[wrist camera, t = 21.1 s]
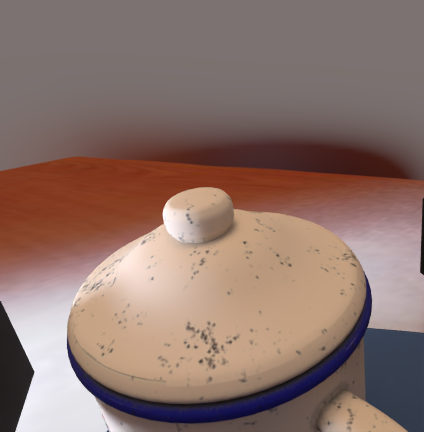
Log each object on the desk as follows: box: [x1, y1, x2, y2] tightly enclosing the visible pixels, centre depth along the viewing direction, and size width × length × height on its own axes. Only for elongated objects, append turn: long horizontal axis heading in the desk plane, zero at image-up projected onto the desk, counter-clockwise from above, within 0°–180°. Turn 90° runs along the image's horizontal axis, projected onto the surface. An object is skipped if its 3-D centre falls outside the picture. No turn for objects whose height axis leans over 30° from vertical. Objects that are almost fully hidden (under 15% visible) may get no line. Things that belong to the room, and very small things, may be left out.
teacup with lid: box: [67, 187, 408, 432], centre depth 13 cm, size 12×9×12 cm
